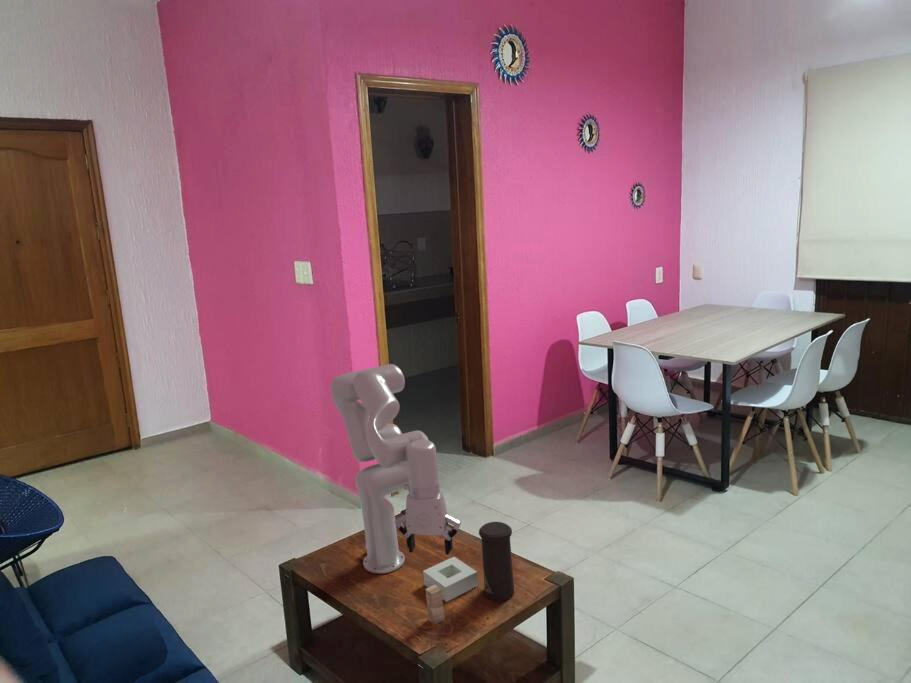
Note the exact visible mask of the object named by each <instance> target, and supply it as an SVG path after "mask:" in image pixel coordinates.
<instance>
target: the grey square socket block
mask: <svg viewBox="0 0 911 683" xmlns="http://www.w3.org/2000/svg"><path fill="white" fill-rule="evenodd" d="M422 573H423V583H424V584H423V585H424V586H425V587H426V588H429V587H431V586H433V585H436V586H437V587H439V588H440V589H441V590H442V600H443V601H445V602H446V603H447V602H449V601H451V600H454V599H455V598H457V597H459V596H461V595H463V594H465V593H467V592H469V591H471V590H473V589H475V588H477V587H478V586H479V582H478V581H479V579H478V578H479V577H478V571H476V570H475V569H474V568H472V567H471V566H469V565H468V564H467V563H464V562H463V561H461V560H460V559H459V558H457V557H456V556H453V557H450V558H448V559H446V560H444V561H441V562H439V563H437V564H435V565H433V566H431V567H430V566H429V567H428V568H427V569H424V570H422ZM474 587H475V588H474ZM472 588H473V589H472Z"/></svg>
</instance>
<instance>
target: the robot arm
mask: <svg viewBox="0 0 911 683" xmlns="http://www.w3.org/2000/svg"><path fill="white" fill-rule="evenodd" d="M405 383H406V380H405V375H404V373H403V372H402V369H400V368H399V366H397V365H396V364H393V363H389V364H388V363H387V364H385V365H379V366H375V367H370V368H367V369H360V370H356V371H350V372H346V373H344V374H340V375H338V376H336V377H335V378H333V379H332V381H331V383H330V387H329V388H330V395H331V399H332V402H333V404H334V406H335V407H336V409H337V411H338V412H339V414H340V415H341V418H342V420H343V422H344V426H345V431H346V434H347V438H348V441H349V445H350V447H351V451H352V455H353V458H354V459H355V461H357V462H359V463H368V462H372V461H376V462H377V463H376V464H372V465H369V466H366V467H363V468H362V469H361V470H359V471H358V472H357V473H356V475H355V487H356V491H357V493H358V497H359V501H360V506H361V513H362V521H363V528H364V536H365V545H364V547H365V548H366V552H367V555H366V556H365V557H364V559H363V563H362V564H363V568H364V569H365V571H367V572H369V573H373V574H387V573H391V572H393V571H397V570H398V569H399V568H401V567H402V566H403V565H404V564H405V557H406V556H405V554H404V553H403V552H402V551H401V550H399V542H398V533H397V528H398V531H399V532H400V533H401V534H403V536H404V538H405V540H406V546H407V548H408V553H413V552H414V549H415V548H416V540H415V539H416V537H415V535H419V536H420V535H422V536H443V537H444V552H445V553H444V554H445V555H447V556H449V555H450V552H451V551H452V550H453V548H454V545H453V537H455V535H457V533H458V531H459V529H460V527H461V525H462V522H461V520H458V519H457V518H454V517H453V516H451V515H449V514H448V510H447V505H446V501H445V497H444V495H443V494H444V493H443V492H442V491H440V480H439V469H438V459H437V458H438V457H437V448H436V445H435V443H434V442H432V441H431V440H429V438H428V436H427V435H426V434H425V433H424V432H423V431H421V430H413V431H409V432H404V433H402V431H401V429H400V428H399V426H398V425H397V424H393V423H391V422H392V421H393V420H394V419H395V418H396V417H397V415H398V414H399V412H400V402H399V401H398V399H397V398H396V396H395V395H394V394H397V393H400V392H401V391H403V390H404V388H405V385H406V384H405ZM403 490H407V491H408V494H407V495H406V502H405V514H403V515H401V516H398V517H396V514H395V508H394V507H395V506H394V505H393V503H392V502H390V500H389V499H387V498H386V496H388V495H390V494H394V493H398V492H401V491H403ZM403 522H405V524H404V523H403ZM449 524H450V525H452V526H453V528H452V529H451V528H450V527H449Z"/></svg>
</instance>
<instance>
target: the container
mask: <svg viewBox="0 0 911 683" xmlns="http://www.w3.org/2000/svg"><path fill="white" fill-rule="evenodd" d="M478 534H479V537H480V539H481V549H482V550H481V551H482V552H481V553H482V567H483V568H482V569H483V584H484V594H485V596H486V597H487V598H488V599H490V600H492V601H496V602H497V601H498V602H501V601H506V600H509V599H511V598H512V597H513V596H514V594H515V583H514V582H515V581H514V572H513V571H514V570H513V560H512V549H511V548H512V547H511V545H512V544H511V536H512V535H513V530H512V527H511V526H509V525H508V524H507V523H505V522H502V521H501V522H500V521H490V522H487V523H485V524H483V525H482V526H481V527H480V528H479V529H478Z"/></svg>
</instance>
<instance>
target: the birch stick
mask: <svg viewBox="0 0 911 683" xmlns="http://www.w3.org/2000/svg"><path fill="white" fill-rule="evenodd" d="M425 596H426V607H427V617H428V621H429V622H431V623H432V624H433V625H434V626H436V625H437V624H440V623H441V622H443V621H445V611H444V602H443V601H444V600H443V599H442V590H441V589H440V588H439V587H437V586H436V585H433V586H431V587H429V588H428V587H426V588H425Z"/></svg>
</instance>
